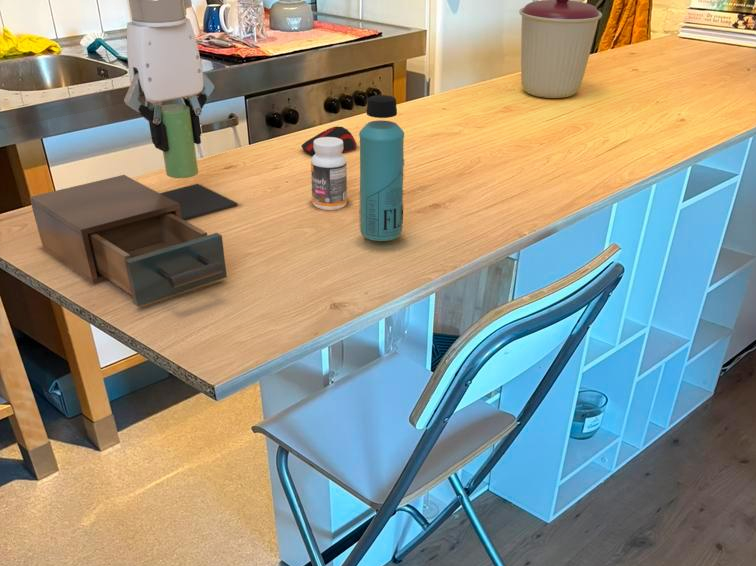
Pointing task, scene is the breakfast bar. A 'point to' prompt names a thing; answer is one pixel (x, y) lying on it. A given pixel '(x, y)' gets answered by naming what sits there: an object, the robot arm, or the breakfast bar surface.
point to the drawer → (158, 257)
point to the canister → (556, 46)
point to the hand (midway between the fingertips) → (177, 144)
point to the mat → (198, 201)
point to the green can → (179, 141)
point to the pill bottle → (329, 174)
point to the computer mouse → (335, 132)
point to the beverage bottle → (381, 172)
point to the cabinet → (93, 217)
